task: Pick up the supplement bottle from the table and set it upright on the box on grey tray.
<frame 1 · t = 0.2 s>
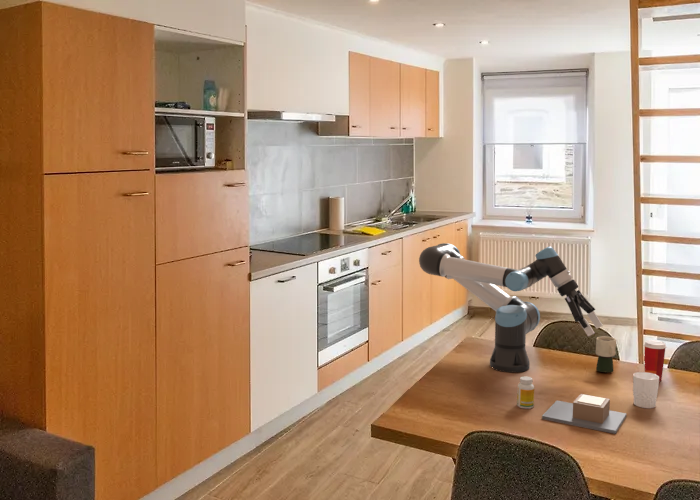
hand: (595, 331, 259), 15 cm above the table, tool tilted 35°, fingers open, 13 cm apart
box on grey tray: (584, 417, 214), on the table
character mug: (604, 372, 259), on the table
white cup: (644, 405, 225), on the table
supplement bottle: (525, 406, 224), on the table
paper cup: (652, 379, 250), on the table
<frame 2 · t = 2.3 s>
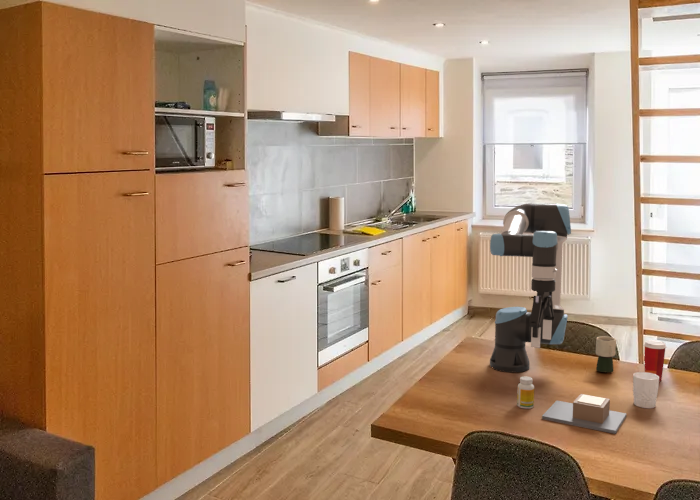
hand: (541, 343, 222), 21 cm above the table, tool pointing down, fingers open, 13 cm apart
nothing on the table moved.
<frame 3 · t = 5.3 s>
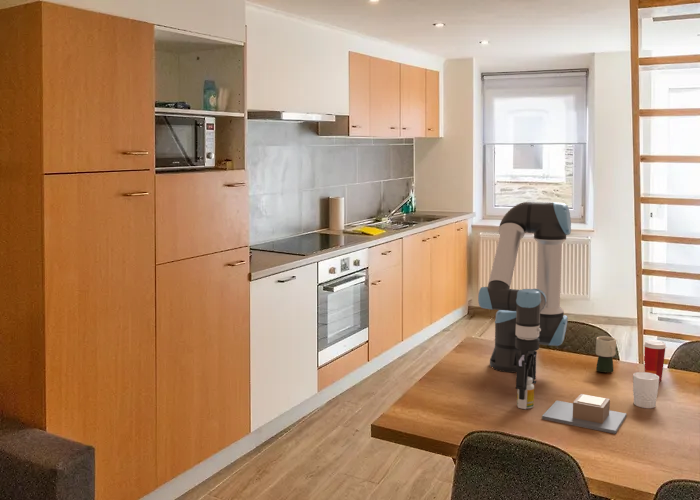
hand: (525, 405, 224), 0 cm above the table, tool pointing down, fingers closed on supplement bottle, 5 cm apart
supplement bottle: (525, 406, 224), on the table, touching gripper
everything else where it was.
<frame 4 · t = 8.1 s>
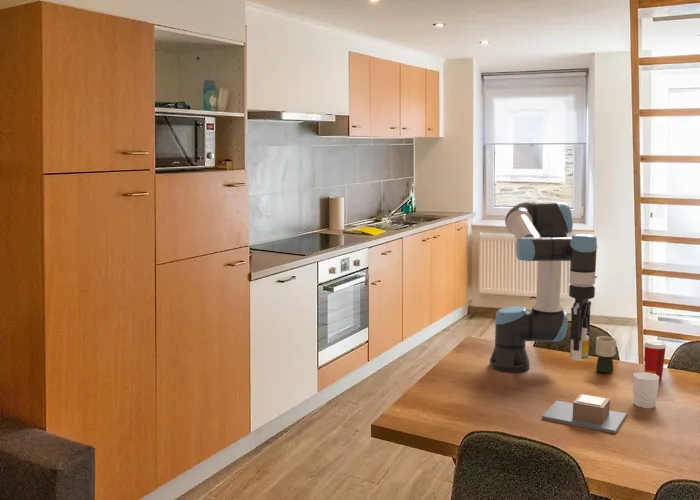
hand: (579, 357, 212), 19 cm above the table, tool pointing down, fingers closed on supplement bottle, 5 cm apart
supplement bottle: (579, 359, 212), point 19 cm above the table, touching gripper
everything else where it was.
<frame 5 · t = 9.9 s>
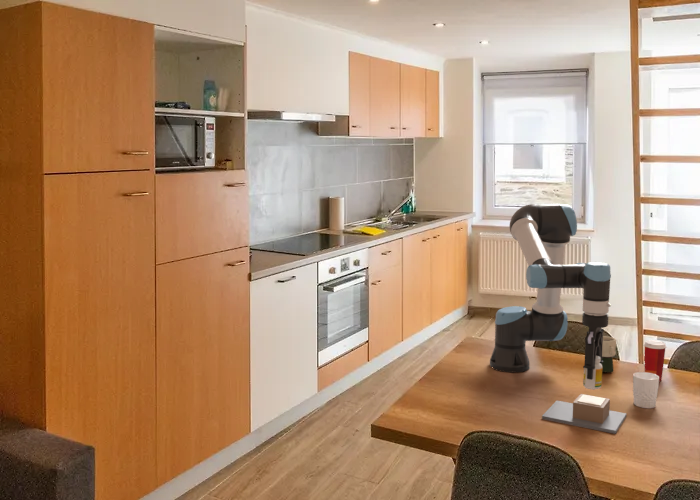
hand: (592, 385, 212), 11 cm above the table, tool pointing down, fingers closed on supplement bottle, 5 cm apart
supplement bottle: (592, 387, 212), point 10 cm above the table, touching gripper
everything else where it was.
when the fingers open (8 cm above the table, at t = 11.1 s): supplement bottle drops 2 cm, resting on box on grey tray.
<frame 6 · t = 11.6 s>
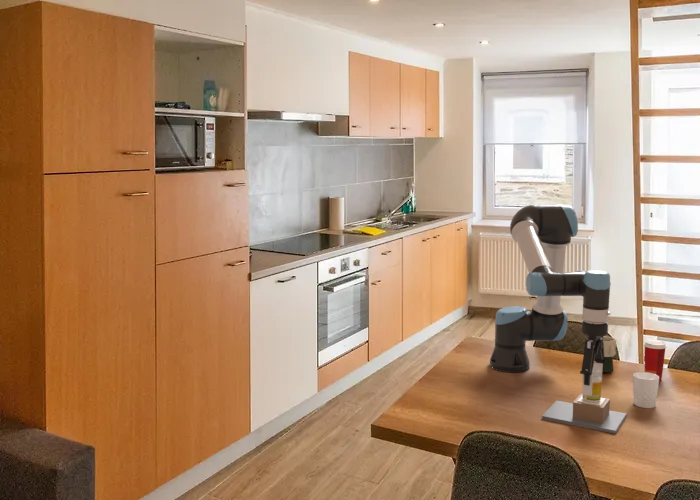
hand: (592, 388, 212), 10 cm above the table, tool pointing down, fingers open, 12 cm apart
supplement bottle: (591, 400, 212), point 6 cm above the table, touching box on grey tray
everything else where it was.
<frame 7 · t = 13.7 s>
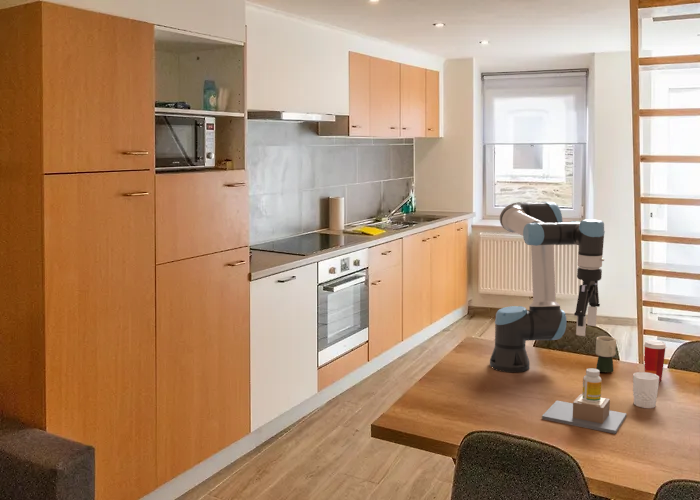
hand: (586, 330, 225), 25 cm above the table, tool pointing down, fingers open, 13 cm apart
nothing on the table moved.
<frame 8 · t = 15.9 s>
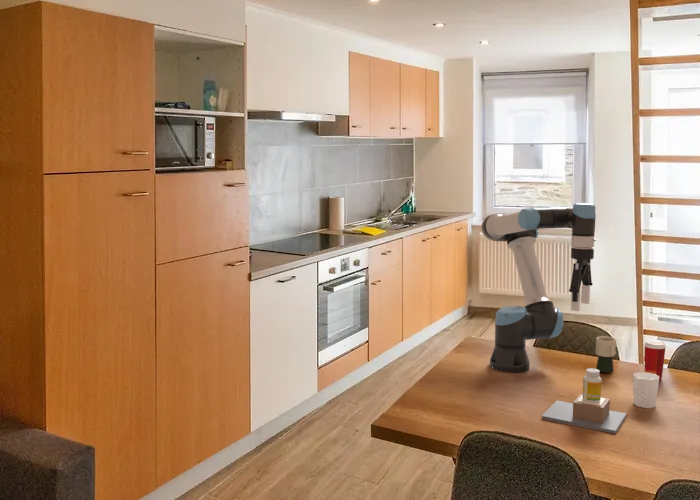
hand: (580, 307, 241), 29 cm above the table, tool pointing down, fingers open, 13 cm apart
nothing on the table moved.
at the end: supplement bottle 0.1 cm from the target spot on the box on grey tray, point 6.1 cm above the box on grey tray's base; supplement bottle tilted 0°; the gripper is holding nothing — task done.
